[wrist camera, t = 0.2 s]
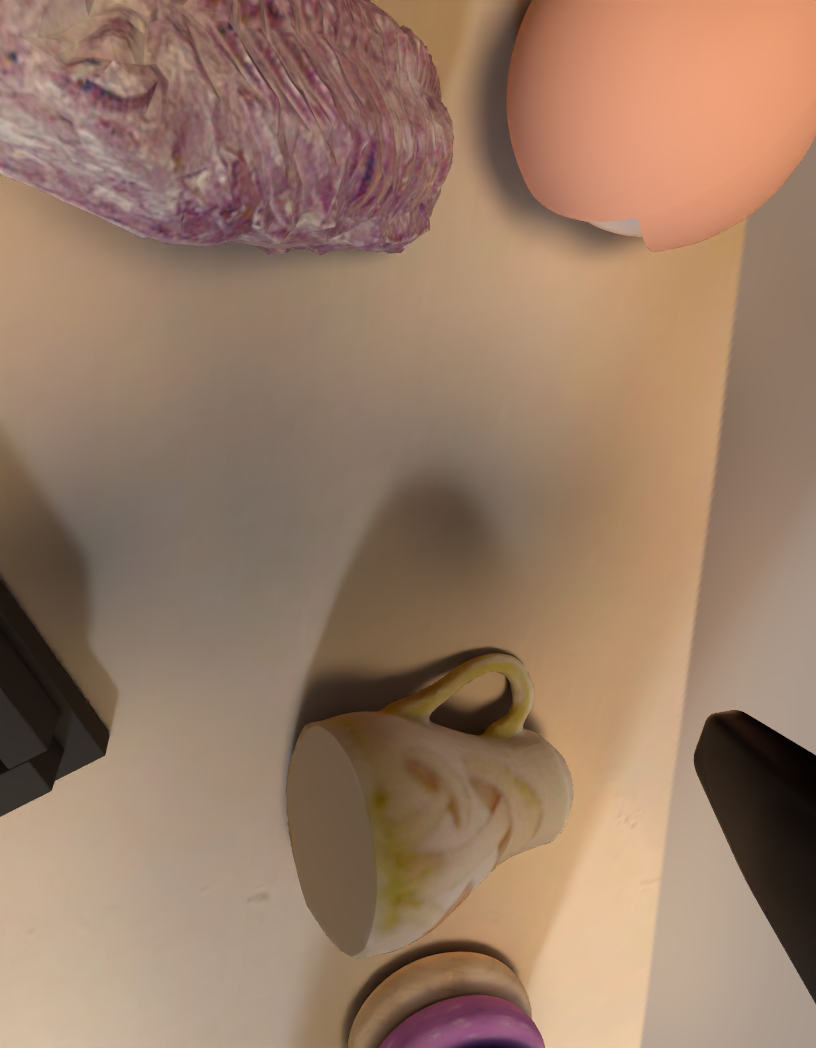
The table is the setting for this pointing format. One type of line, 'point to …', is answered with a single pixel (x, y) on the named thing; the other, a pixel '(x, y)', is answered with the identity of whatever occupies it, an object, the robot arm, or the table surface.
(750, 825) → the robot arm
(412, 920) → the mug
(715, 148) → the toy ball
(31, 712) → the base pad
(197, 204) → the purple rock
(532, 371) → the table surface
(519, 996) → the stacking toy
